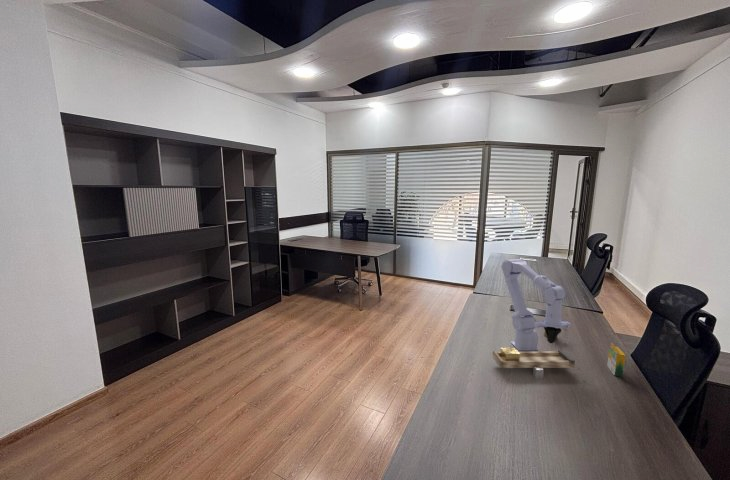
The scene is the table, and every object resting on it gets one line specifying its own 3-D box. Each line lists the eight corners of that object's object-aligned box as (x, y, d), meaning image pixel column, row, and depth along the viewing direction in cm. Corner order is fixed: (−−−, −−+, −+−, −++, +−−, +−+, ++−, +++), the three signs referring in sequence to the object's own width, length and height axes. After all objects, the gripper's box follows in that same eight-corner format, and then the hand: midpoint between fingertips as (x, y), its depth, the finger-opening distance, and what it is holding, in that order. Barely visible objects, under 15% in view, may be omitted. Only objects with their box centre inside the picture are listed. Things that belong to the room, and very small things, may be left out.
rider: (513, 355, 129) (514, 347, 129) (519, 362, 125) (520, 353, 124) (500, 355, 130) (500, 347, 129) (505, 362, 125) (505, 353, 124)
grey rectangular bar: (525, 359, 134) (526, 351, 134) (542, 378, 121) (543, 369, 120) (518, 359, 134) (519, 351, 134) (535, 378, 121) (536, 369, 120)
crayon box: (622, 377, 121) (626, 351, 119) (614, 375, 122) (617, 350, 120) (615, 367, 128) (618, 342, 126) (606, 365, 129) (610, 341, 127)
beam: (561, 357, 131) (561, 349, 131) (574, 369, 123) (575, 360, 122) (491, 357, 132) (492, 350, 131) (500, 369, 123) (501, 361, 122)
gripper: (542, 317, 123) (539, 346, 125) (576, 316, 123) (573, 346, 125) (532, 310, 130) (530, 338, 132) (565, 310, 130) (562, 338, 132)
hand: (550, 342), depth 129 cm, fingers closed
